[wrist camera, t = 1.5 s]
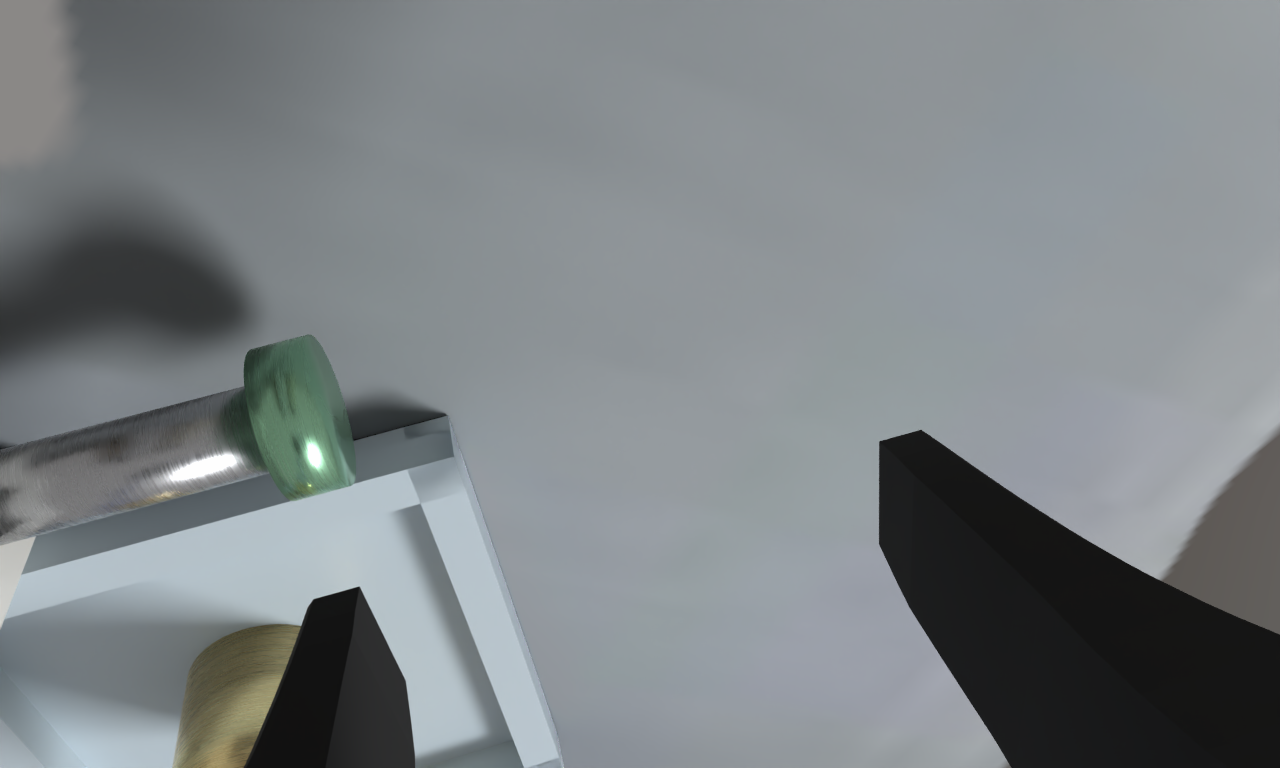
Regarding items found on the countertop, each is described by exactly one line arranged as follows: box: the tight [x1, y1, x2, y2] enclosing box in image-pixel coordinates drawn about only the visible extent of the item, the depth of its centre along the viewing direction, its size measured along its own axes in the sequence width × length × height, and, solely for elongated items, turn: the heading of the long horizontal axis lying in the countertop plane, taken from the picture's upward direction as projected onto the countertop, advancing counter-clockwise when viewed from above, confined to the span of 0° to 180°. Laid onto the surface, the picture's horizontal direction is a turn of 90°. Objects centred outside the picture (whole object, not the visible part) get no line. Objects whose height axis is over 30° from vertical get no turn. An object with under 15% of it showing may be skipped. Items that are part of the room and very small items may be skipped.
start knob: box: [0, 335, 356, 546], centre depth 17 cm, size 3×7×3 cm, turn 99°
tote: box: [0, 416, 564, 768], centre depth 24 cm, size 12×12×2 cm
